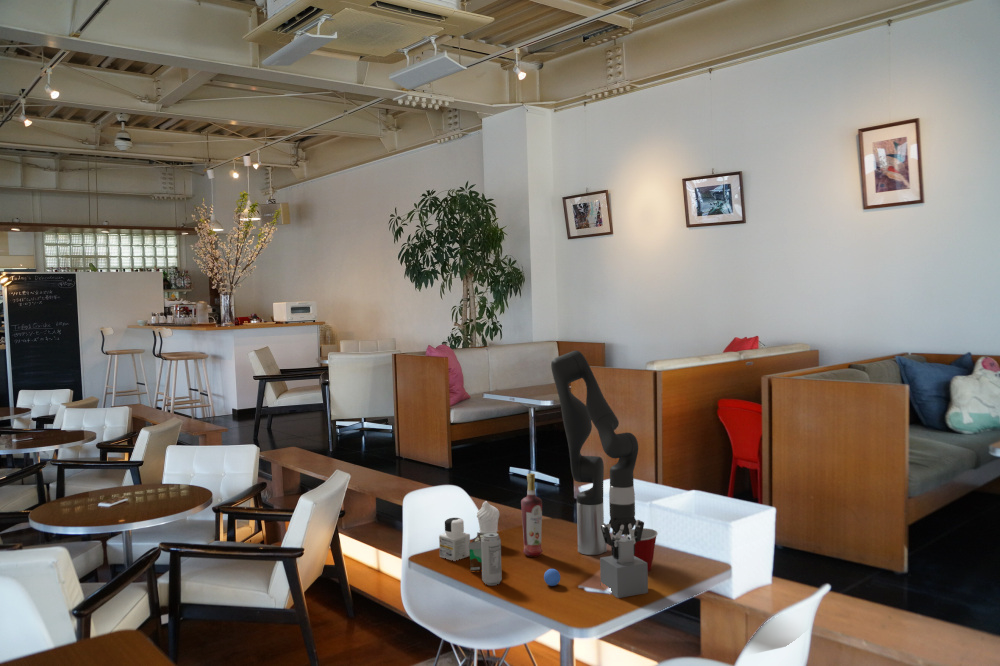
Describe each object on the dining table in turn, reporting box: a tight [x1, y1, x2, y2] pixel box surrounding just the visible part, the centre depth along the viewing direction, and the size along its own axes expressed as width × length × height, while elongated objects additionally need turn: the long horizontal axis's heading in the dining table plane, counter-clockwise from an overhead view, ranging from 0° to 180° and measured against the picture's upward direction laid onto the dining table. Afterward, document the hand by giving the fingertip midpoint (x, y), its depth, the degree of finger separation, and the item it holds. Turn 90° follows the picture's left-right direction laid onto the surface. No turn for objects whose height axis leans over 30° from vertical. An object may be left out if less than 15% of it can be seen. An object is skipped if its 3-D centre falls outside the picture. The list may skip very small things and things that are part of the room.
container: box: [438, 517, 471, 562], centre depth 253 cm, size 8×8×13 cm
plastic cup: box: [623, 527, 659, 572], centre depth 235 cm, size 11×11×12 cm
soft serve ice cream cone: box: [476, 500, 500, 533], centre depth 265 cm, size 8×8×16 cm
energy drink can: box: [481, 532, 503, 586], centre depth 227 cm, size 6×6×15 cm
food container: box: [469, 531, 485, 572], centre depth 241 cm, size 12×6×10 cm, turn 168°
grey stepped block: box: [599, 536, 649, 599], centre depth 218 cm, size 10×10×15 cm
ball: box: [543, 568, 561, 587], centre depth 223 cm, size 5×5×5 cm
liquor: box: [520, 473, 543, 557], centre depth 252 cm, size 7×7×28 cm
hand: (623, 556), depth 218 cm, fingers closed on grey stepped block, 4 cm apart
